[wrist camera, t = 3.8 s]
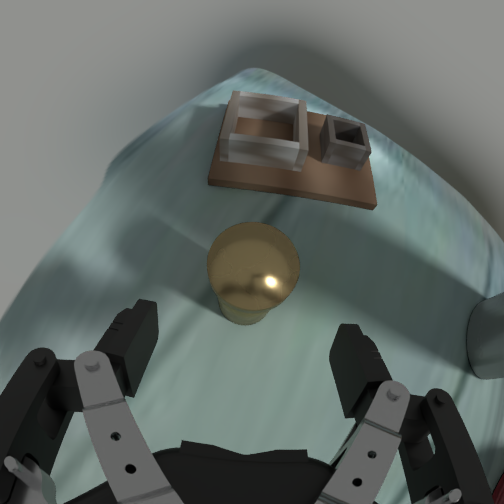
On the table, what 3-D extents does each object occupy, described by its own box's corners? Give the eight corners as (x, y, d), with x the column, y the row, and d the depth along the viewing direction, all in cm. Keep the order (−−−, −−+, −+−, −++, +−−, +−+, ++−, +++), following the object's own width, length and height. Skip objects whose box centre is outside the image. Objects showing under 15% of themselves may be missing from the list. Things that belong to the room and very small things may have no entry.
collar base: (358, 129, 30) (369, 106, 26) (372, 210, 25) (391, 187, 22) (228, 106, 29) (229, 80, 26) (208, 184, 25) (206, 156, 21)
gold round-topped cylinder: (276, 274, 22) (301, 228, 15) (272, 332, 20) (297, 314, 13) (219, 267, 22) (214, 216, 14) (210, 325, 20) (200, 302, 13)
